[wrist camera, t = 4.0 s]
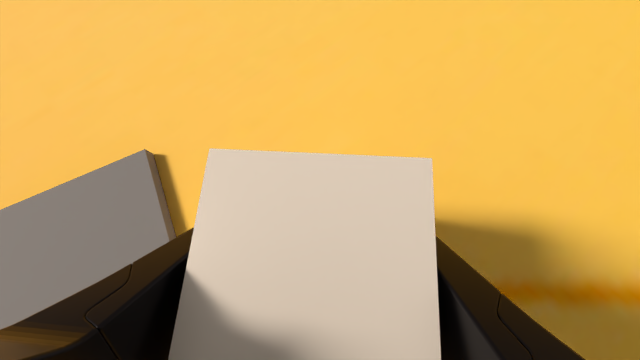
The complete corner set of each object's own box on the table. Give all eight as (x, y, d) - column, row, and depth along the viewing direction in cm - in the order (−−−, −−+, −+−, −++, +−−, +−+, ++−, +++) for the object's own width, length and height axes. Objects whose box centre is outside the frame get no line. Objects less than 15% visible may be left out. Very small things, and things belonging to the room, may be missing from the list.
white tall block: (376, 322, 14) (445, 441, 5) (268, 313, 15) (159, 405, 6) (377, 213, 16) (431, 158, 7) (279, 207, 16) (209, 148, 7)
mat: (225, 415, 14) (218, 425, 13) (-85, 567, 13) (-112, 587, 12) (152, 153, 18) (144, 149, 17) (-82, 252, 17) (-102, 252, 16)
